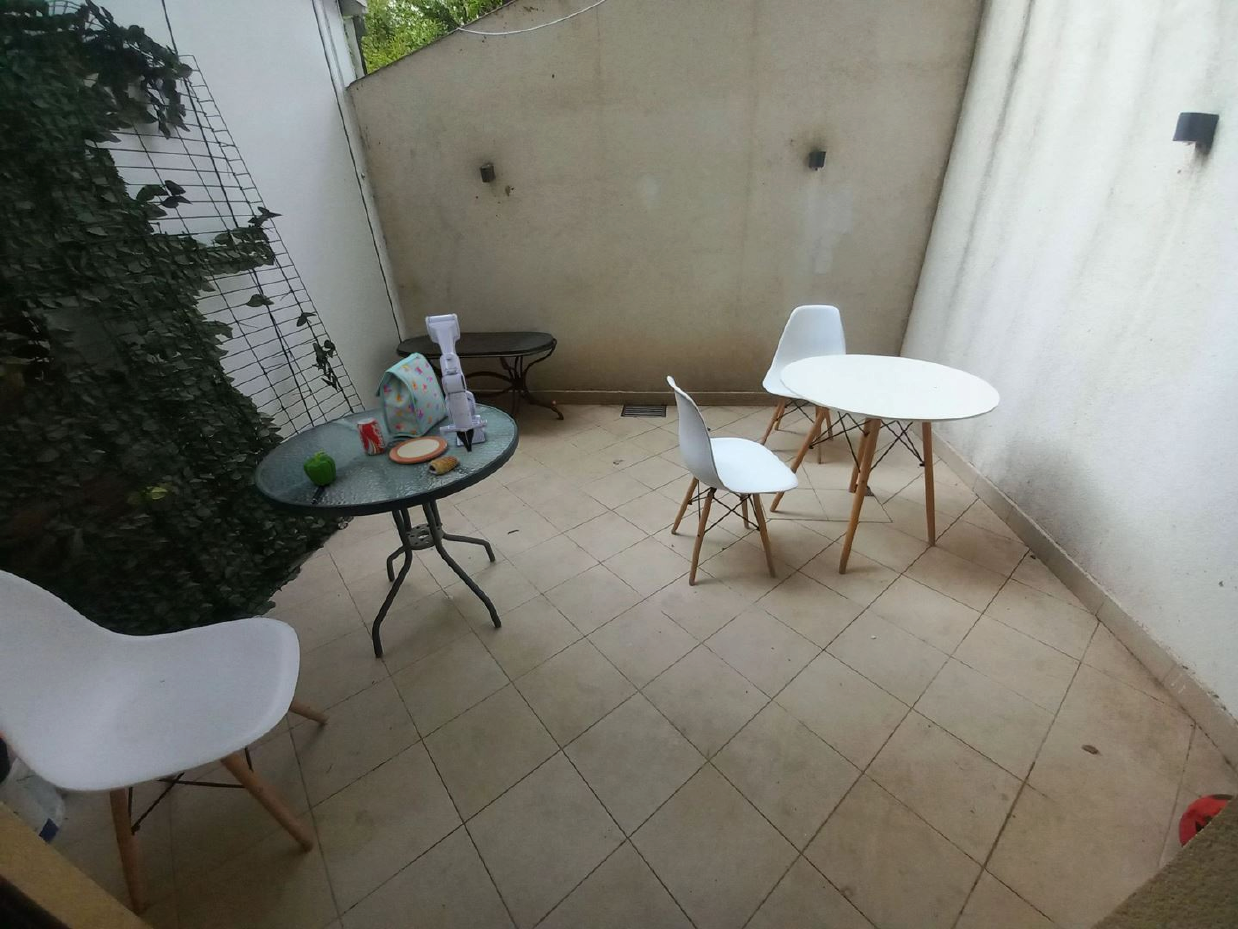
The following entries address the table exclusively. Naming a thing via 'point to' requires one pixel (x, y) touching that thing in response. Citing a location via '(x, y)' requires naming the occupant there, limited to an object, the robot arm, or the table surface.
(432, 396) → the lunch bag
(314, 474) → the bell pepper
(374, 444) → the soda can
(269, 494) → the table surface
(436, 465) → the pastry
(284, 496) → the table surface
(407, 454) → the plate
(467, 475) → the table surface
